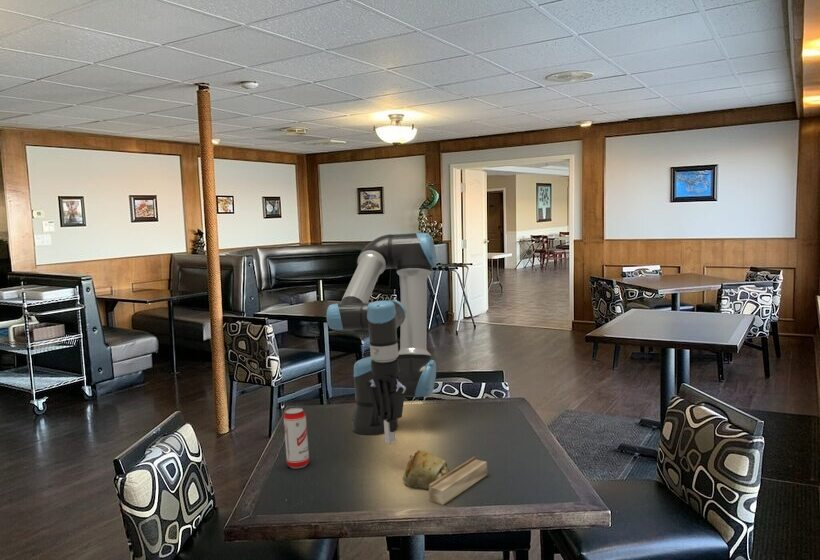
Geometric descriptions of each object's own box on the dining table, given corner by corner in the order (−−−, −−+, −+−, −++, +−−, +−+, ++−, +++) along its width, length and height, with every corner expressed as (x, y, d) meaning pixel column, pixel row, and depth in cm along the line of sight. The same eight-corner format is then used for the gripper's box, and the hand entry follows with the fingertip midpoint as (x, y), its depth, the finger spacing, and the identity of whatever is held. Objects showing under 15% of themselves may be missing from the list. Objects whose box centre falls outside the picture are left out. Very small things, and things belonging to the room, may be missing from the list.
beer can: (313, 461, 178) (309, 407, 176) (302, 470, 172) (298, 414, 170) (294, 460, 180) (290, 406, 178) (283, 468, 174) (278, 413, 172)
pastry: (395, 476, 165) (393, 447, 164) (438, 467, 170) (436, 439, 169) (415, 497, 152) (413, 466, 151) (461, 487, 156) (459, 456, 156)
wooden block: (429, 500, 149) (428, 484, 149) (474, 471, 165) (473, 456, 165) (443, 505, 147) (442, 488, 147) (487, 474, 162) (486, 459, 162)
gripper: (357, 359, 168) (363, 442, 171) (394, 365, 160) (400, 451, 163) (375, 352, 174) (381, 432, 177) (412, 358, 166) (417, 441, 169)
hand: (390, 441), depth 170 cm, fingers closed
